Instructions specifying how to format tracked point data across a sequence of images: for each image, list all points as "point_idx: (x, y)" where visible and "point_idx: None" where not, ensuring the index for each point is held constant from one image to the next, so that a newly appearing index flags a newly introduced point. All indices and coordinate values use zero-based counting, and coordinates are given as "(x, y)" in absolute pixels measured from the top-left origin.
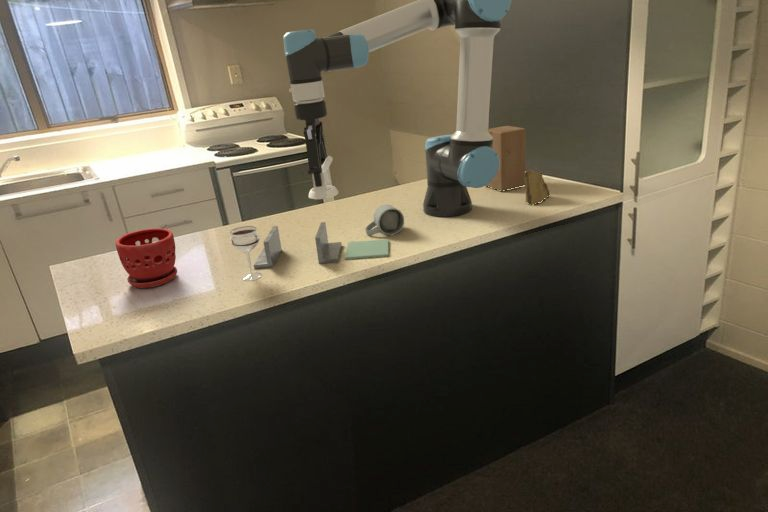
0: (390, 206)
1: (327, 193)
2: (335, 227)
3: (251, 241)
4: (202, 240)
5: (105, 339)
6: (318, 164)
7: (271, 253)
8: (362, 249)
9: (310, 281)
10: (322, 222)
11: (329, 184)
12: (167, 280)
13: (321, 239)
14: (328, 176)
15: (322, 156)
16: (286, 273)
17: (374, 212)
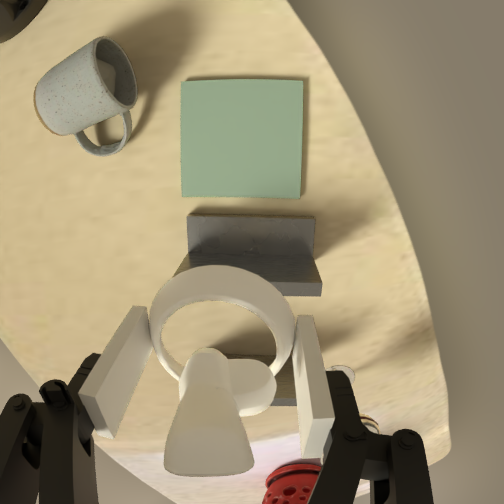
0: (65, 72)
1: (284, 321)
2: (61, 242)
3: (377, 425)
4: (140, 454)
5: (440, 450)
6: (427, 470)
7: (293, 374)
8: (250, 151)
9: (403, 270)
10: None
11: (138, 322)
12: (318, 466)
13: (297, 276)
14: (122, 348)
15: (79, 454)
16: (344, 325)
17: (57, 130)
